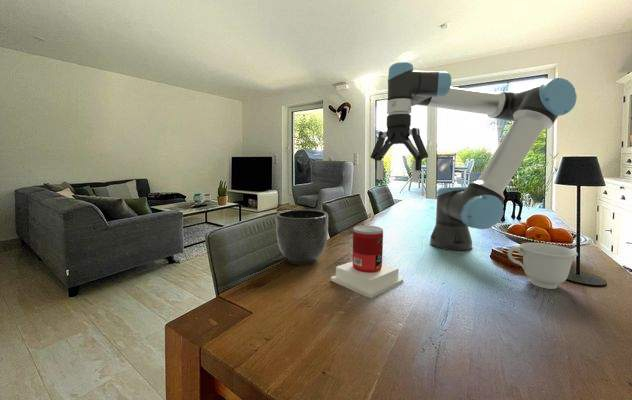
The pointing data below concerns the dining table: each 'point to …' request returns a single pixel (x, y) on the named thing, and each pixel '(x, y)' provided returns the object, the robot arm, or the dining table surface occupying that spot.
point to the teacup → (545, 263)
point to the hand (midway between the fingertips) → (396, 180)
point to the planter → (302, 235)
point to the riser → (367, 279)
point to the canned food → (367, 248)
